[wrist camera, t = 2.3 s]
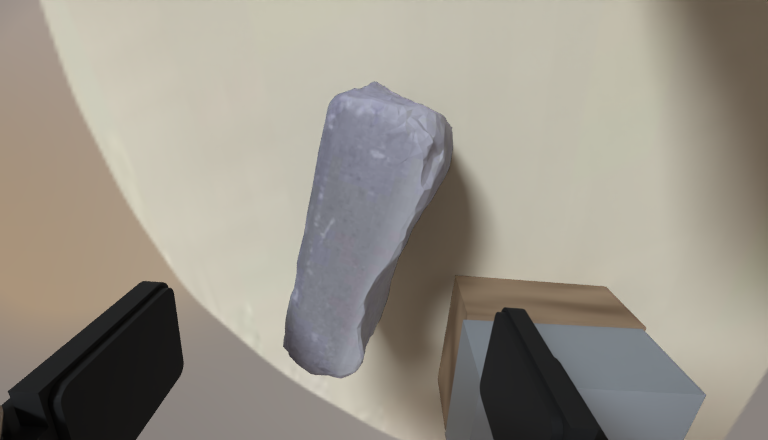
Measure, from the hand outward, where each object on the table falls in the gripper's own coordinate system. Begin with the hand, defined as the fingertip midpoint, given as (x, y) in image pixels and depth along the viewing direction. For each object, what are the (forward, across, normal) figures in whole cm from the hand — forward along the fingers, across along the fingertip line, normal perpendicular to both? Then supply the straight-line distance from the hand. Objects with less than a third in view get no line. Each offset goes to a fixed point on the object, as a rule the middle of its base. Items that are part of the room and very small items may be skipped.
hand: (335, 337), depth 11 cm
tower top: (+8, -11, +9) cm, 17 cm away
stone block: (+13, 0, -1) cm, 13 cm away
